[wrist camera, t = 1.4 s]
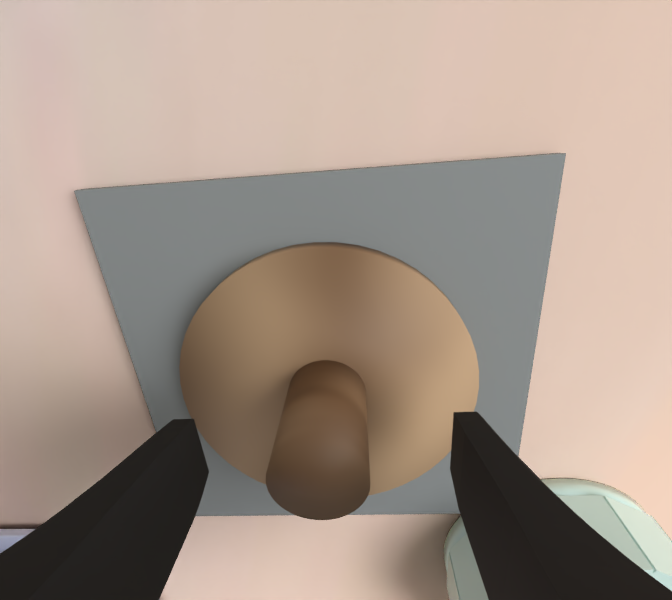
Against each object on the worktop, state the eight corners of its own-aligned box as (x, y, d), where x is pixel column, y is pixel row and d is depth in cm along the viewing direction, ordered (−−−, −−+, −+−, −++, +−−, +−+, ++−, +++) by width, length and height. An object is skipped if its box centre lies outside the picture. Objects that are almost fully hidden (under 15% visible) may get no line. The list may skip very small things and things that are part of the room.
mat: (188, 508, 17) (184, 516, 16) (83, 189, 11) (74, 190, 11) (505, 504, 16) (509, 513, 15) (558, 153, 10) (565, 153, 10)
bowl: (440, 607, 19) (457, 703, 16) (447, 480, 15) (472, 569, 12) (625, 609, 18) (682, 709, 15) (677, 476, 15) (767, 570, 12)
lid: (220, 483, 15) (173, 604, 11) (156, 252, 12) (51, 311, 8) (464, 478, 15) (505, 605, 11) (482, 230, 11) (558, 282, 7)
